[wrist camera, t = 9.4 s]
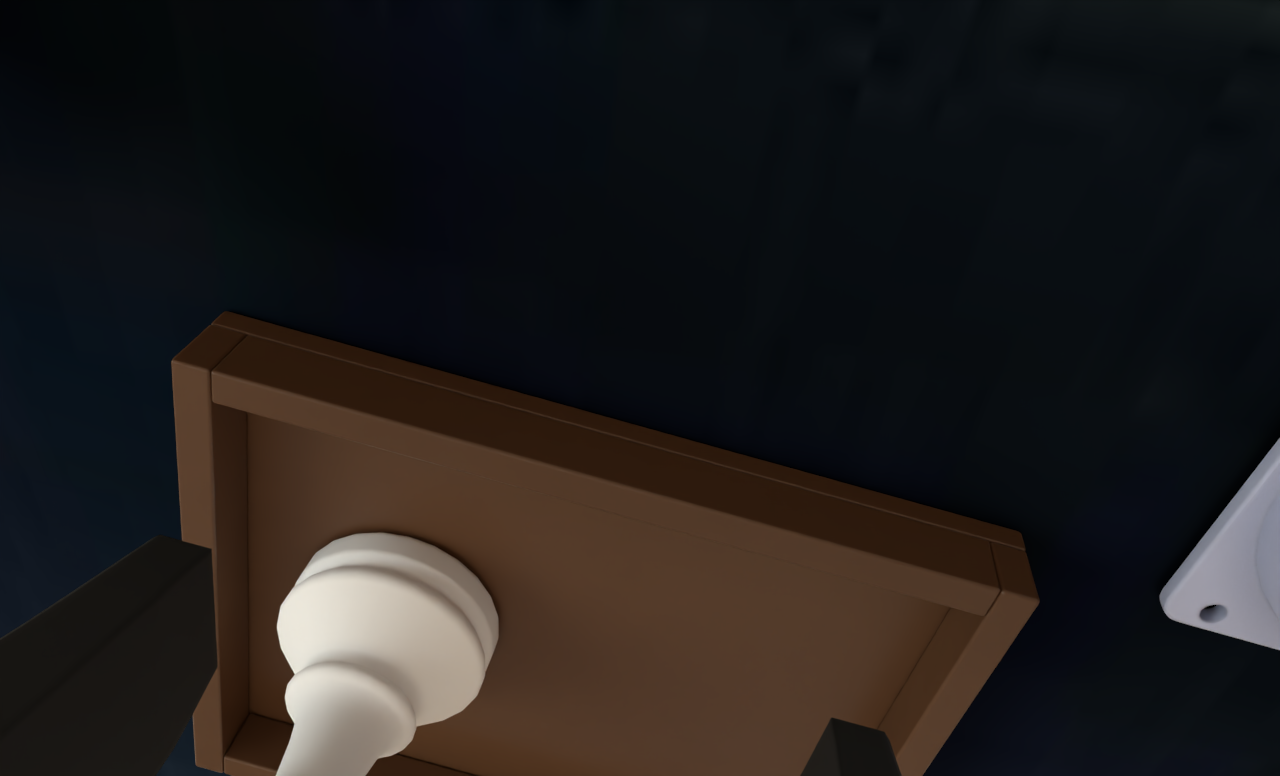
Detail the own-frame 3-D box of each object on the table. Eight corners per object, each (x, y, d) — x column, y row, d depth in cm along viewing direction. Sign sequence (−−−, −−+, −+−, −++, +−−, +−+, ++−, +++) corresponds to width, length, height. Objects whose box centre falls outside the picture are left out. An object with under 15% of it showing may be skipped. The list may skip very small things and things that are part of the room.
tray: (1021, 531, 20) (1041, 602, 18) (813, 864, 28) (814, 938, 26) (224, 309, 20) (169, 360, 18) (233, 704, 28) (194, 766, 26)
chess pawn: (373, 492, 21) (141, 872, 14) (542, 615, 23) (413, 1023, 15) (269, 595, 24) (24, 966, 16) (427, 701, 25) (266, 1090, 18)
